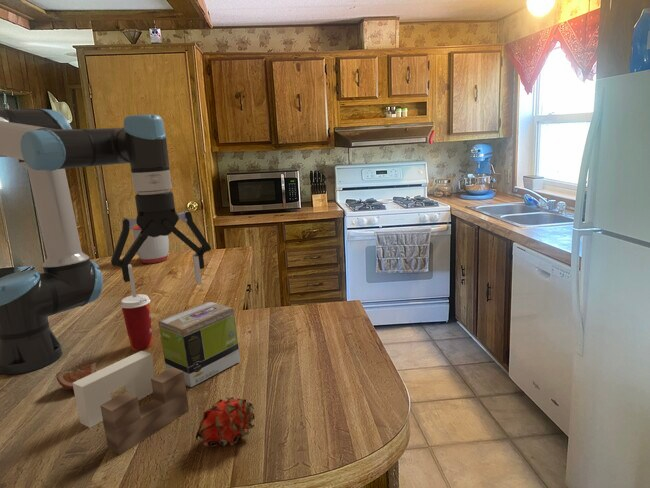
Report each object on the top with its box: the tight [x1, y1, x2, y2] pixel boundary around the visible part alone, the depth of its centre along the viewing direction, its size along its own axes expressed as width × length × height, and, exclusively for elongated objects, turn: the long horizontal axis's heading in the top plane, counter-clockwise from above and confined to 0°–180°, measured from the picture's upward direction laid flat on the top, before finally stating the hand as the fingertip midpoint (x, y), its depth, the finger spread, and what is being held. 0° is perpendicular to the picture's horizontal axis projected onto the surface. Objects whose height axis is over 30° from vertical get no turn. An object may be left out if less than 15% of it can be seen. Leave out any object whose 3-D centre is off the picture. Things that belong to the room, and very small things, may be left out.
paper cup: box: [119, 293, 154, 352], centre depth 128 cm, size 8×8×14 cm
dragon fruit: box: [195, 396, 256, 447], centre depth 87 cm, size 8×8×12 cm
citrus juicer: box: [132, 224, 170, 265], centre depth 222 cm, size 16×17×20 cm
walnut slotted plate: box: [100, 367, 190, 456], centre depth 91 cm, size 16×4×9 cm, turn 146°
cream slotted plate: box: [73, 350, 156, 429], centre depth 100 cm, size 16×4×9 cm, turn 146°
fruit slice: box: [56, 362, 98, 390], centre depth 109 cm, size 8×7×5 cm
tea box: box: [158, 300, 241, 388], centre depth 113 cm, size 15×10×15 cm
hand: (167, 289), depth 102 cm, fingers open, 13 cm apart
